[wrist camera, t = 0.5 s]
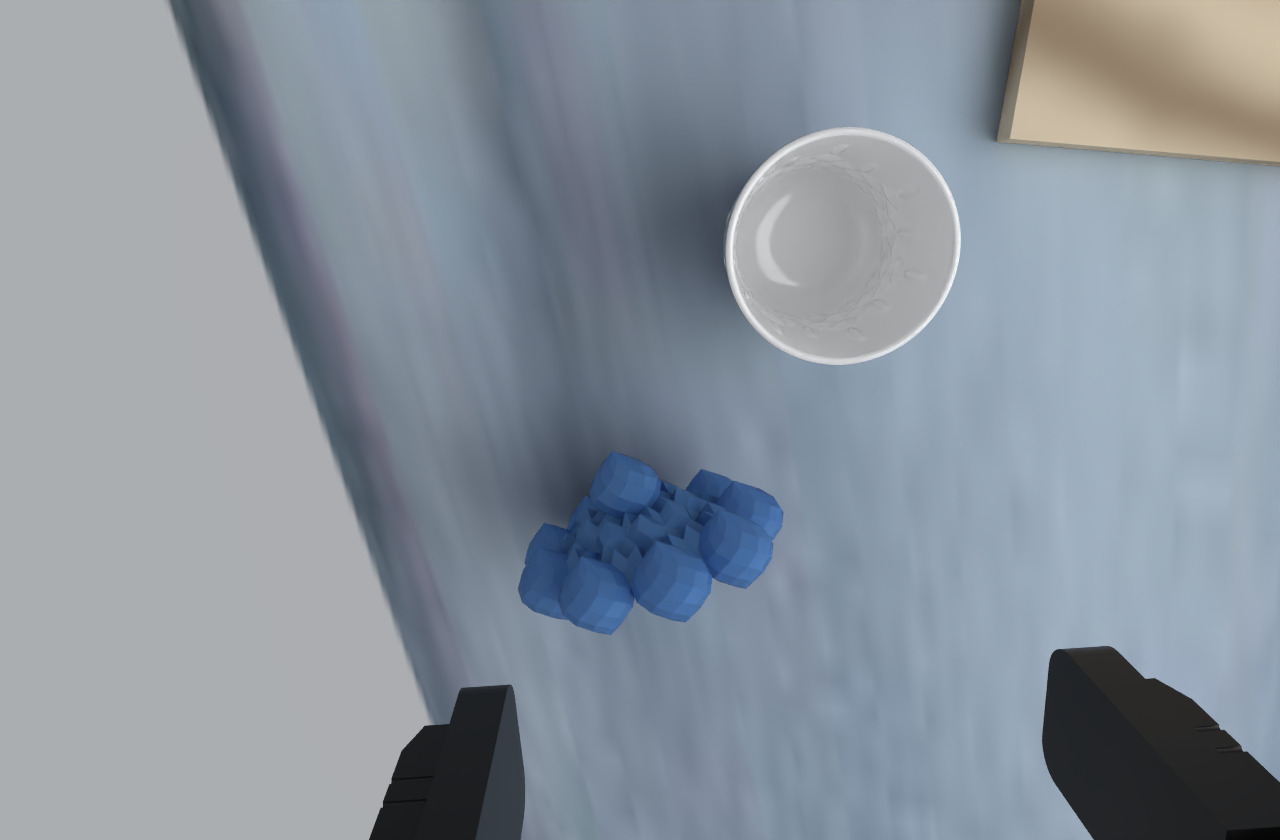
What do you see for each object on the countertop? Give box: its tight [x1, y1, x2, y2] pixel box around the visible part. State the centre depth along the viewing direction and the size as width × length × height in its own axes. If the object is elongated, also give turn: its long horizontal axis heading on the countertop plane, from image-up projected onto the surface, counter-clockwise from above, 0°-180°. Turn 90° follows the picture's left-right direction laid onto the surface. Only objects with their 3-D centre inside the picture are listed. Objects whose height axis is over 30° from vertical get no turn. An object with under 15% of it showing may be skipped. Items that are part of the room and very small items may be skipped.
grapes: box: [518, 451, 783, 635], centre depth 35 cm, size 12×7×12 cm, turn 108°
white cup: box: [723, 127, 961, 365], centre depth 33 cm, size 8×8×10 cm
